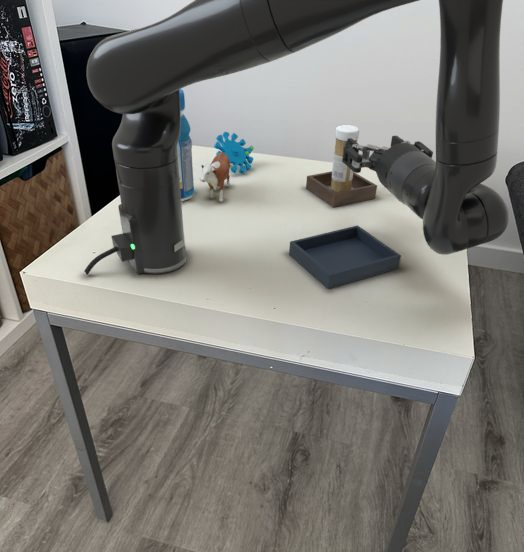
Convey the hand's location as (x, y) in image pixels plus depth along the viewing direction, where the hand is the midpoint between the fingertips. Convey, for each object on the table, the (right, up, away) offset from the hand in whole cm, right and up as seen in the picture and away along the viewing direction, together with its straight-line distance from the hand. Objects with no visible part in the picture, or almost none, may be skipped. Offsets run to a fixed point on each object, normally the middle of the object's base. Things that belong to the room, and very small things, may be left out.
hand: (370, 142), depth 94 cm
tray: (-6, -22, -5) cm, 23 cm away
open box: (-3, -4, +17) cm, 18 cm away
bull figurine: (-29, -5, +15) cm, 33 cm away
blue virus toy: (-26, +5, +27) cm, 38 cm away
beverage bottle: (-38, -5, +15) cm, 41 cm away
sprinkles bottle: (-3, -4, +18) cm, 18 cm away
